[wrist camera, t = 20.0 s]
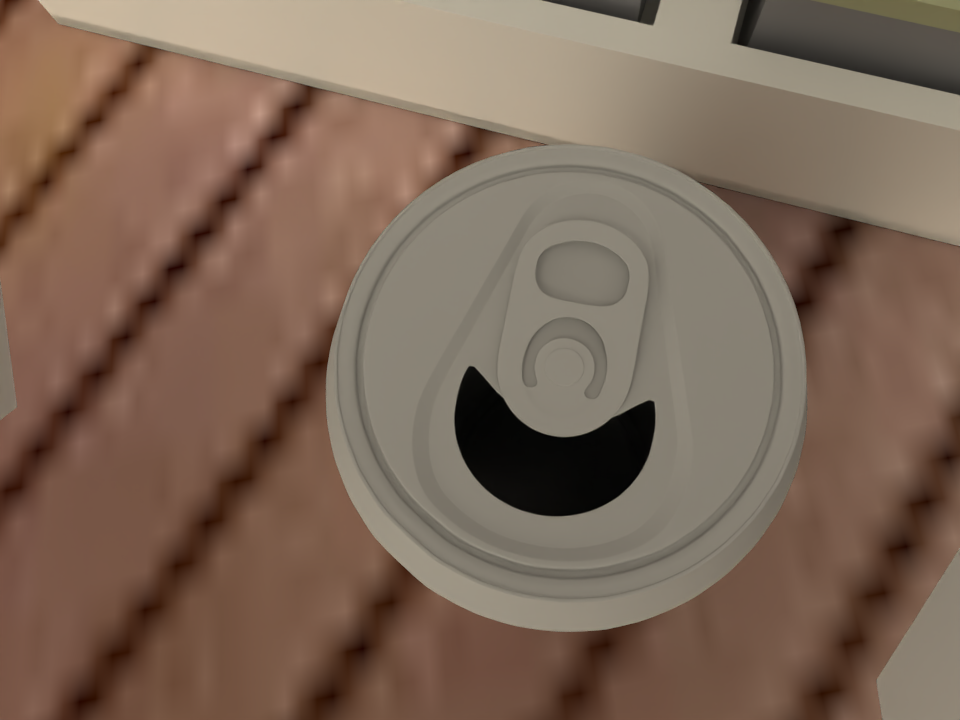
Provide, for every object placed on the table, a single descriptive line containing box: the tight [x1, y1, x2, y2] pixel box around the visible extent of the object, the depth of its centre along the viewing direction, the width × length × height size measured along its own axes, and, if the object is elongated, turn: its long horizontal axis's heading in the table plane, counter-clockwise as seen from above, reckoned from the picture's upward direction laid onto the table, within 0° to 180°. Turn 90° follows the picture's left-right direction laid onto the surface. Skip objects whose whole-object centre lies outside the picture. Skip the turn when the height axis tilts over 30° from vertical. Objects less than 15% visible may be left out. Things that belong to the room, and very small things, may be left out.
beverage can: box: [326, 144, 807, 632], centre depth 16 cm, size 6×6×12 cm
